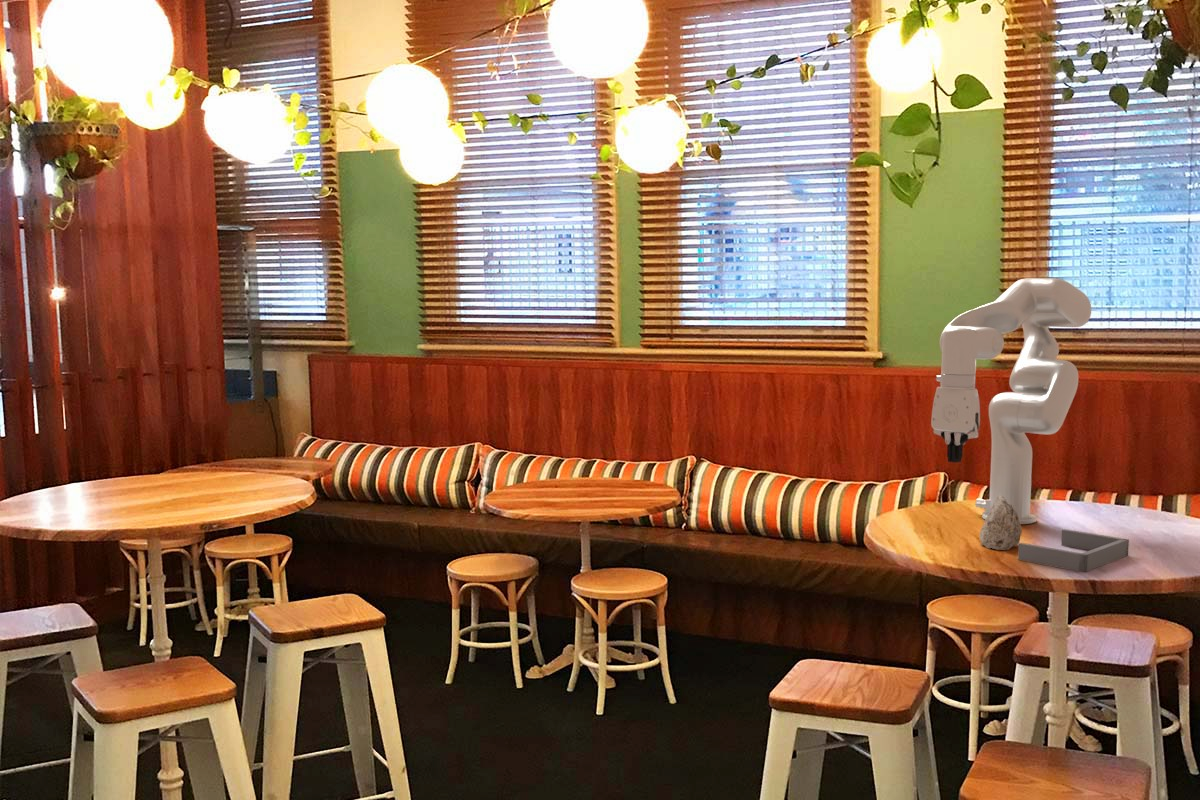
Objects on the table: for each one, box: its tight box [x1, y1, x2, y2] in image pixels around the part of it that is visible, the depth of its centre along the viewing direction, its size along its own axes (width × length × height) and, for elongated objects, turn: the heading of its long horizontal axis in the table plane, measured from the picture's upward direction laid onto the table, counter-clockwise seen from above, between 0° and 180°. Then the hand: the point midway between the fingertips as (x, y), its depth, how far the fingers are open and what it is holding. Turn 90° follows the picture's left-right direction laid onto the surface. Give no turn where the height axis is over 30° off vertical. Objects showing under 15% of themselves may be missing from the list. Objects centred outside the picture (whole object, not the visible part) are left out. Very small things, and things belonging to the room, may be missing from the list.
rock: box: [979, 496, 1023, 551], centre depth 259 cm, size 14×10×8 cm
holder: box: [1017, 528, 1130, 573], centre depth 247 cm, size 14×21×4 cm, turn 133°
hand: (954, 461), depth 266 cm, fingers closed
